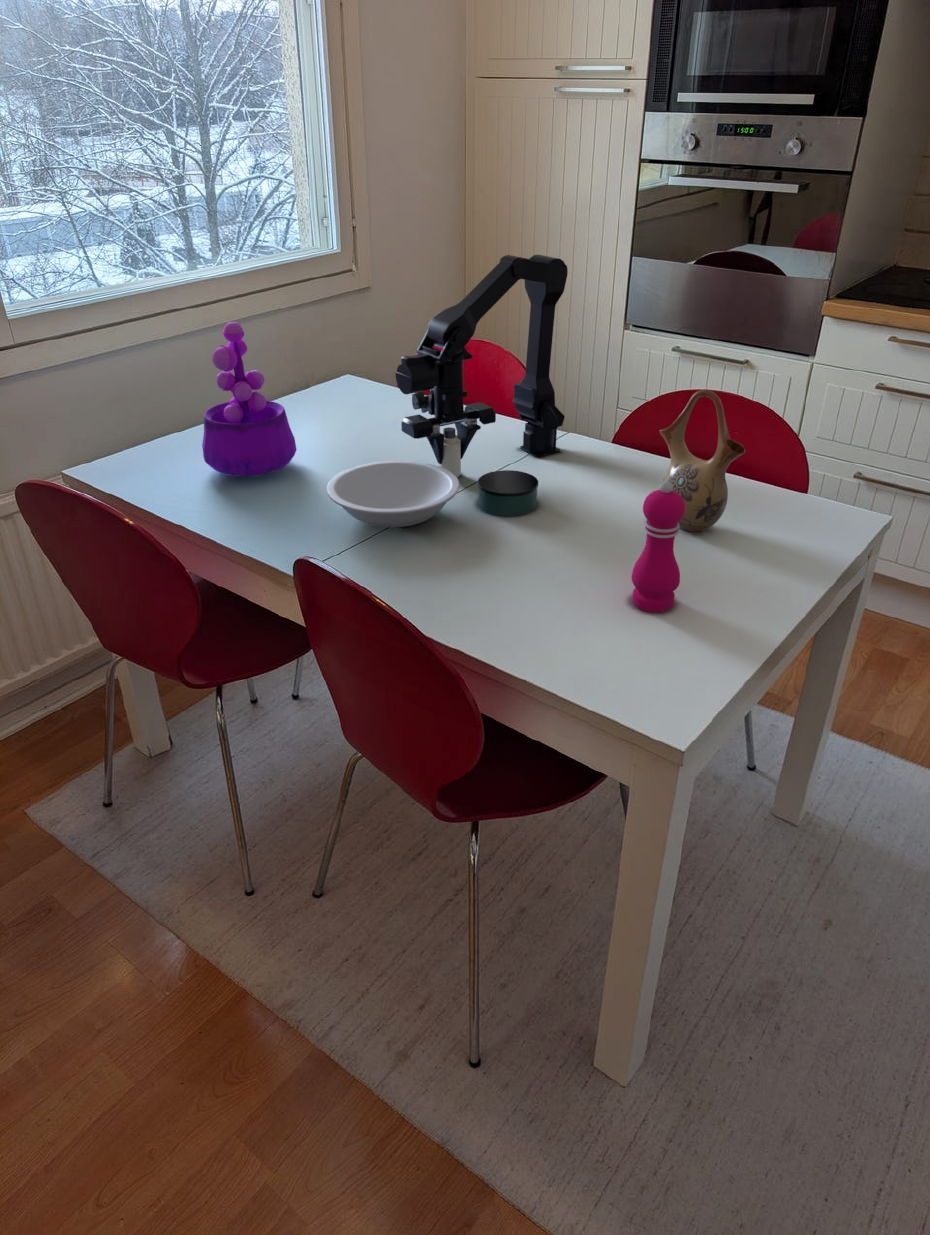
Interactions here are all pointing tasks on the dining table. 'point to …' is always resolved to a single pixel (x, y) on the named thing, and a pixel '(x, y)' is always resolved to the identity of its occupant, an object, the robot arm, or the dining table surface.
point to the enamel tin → (507, 493)
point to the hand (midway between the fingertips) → (449, 461)
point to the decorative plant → (244, 418)
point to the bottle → (451, 452)
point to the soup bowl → (393, 492)
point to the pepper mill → (658, 551)
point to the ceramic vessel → (700, 469)
